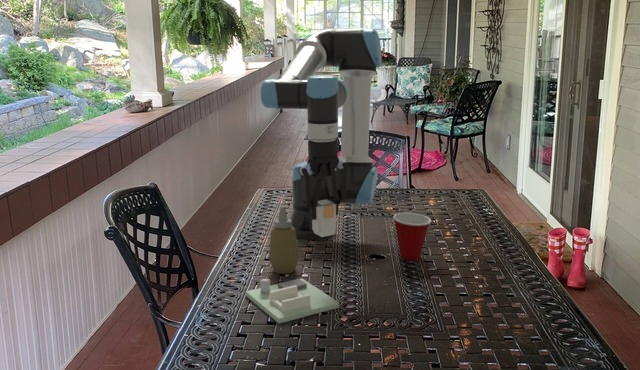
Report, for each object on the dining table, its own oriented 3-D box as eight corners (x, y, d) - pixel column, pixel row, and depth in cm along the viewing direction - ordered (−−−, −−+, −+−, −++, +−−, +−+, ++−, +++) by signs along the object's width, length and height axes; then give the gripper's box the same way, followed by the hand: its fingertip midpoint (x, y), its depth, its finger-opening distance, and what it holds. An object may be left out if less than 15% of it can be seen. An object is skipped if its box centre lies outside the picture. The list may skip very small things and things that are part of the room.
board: (245, 295, 159) (245, 280, 158) (302, 282, 167) (301, 267, 166) (278, 323, 144) (278, 306, 143) (339, 307, 152) (339, 290, 151)
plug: (313, 232, 165) (313, 201, 163) (327, 230, 167) (326, 199, 165) (323, 238, 161) (322, 205, 159) (337, 235, 163) (336, 203, 161)
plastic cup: (429, 264, 179) (430, 223, 176) (390, 262, 181) (391, 221, 178) (430, 251, 189) (432, 212, 186) (394, 249, 191) (394, 210, 188)
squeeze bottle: (303, 267, 178) (302, 204, 173) (292, 277, 170) (291, 212, 166) (276, 263, 180) (274, 202, 176) (264, 274, 173) (262, 210, 169)
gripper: (300, 145, 151) (302, 239, 157) (360, 137, 159) (360, 227, 165) (285, 140, 157) (287, 231, 163) (343, 133, 165) (344, 219, 171)
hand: (324, 229), depth 164 cm, fingers closed on plug, 4 cm apart
